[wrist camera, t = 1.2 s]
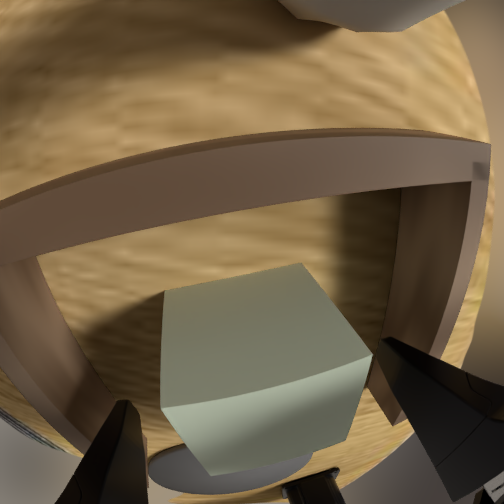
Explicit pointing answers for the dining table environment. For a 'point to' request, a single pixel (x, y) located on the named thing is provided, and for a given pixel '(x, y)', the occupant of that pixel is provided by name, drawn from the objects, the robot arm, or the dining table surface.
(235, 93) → the dining table surface
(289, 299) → the block
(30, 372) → the bay
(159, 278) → the dining table surface
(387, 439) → the dining table surface
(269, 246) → the dining table surface
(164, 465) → the coaster
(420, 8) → the salt shaker
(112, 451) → the robot arm
